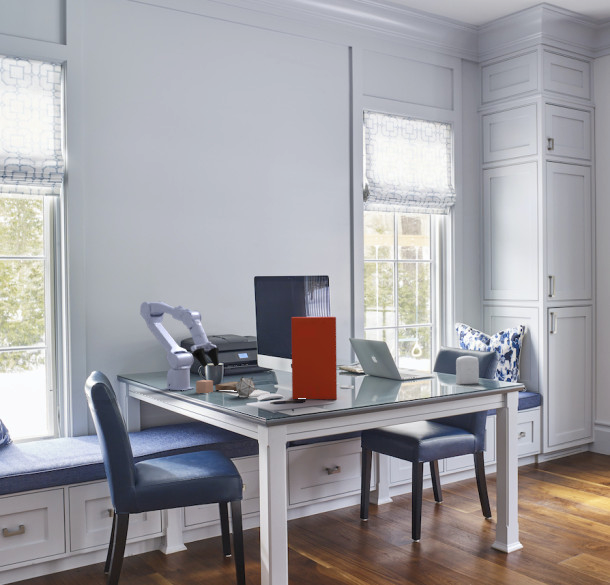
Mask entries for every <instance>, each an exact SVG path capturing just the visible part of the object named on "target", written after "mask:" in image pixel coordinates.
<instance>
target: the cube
mask: <svg viewBox="0 0 610 585" xmlns="http://www.w3.org/2000/svg"><path fill="white" fill-rule="evenodd" d="M195 387H196V388H195V391H196V392H195V393H196V394H200V393H208V394H210V393H209V392H213V393H214V380H209V379H202V380H196V381H195Z"/></svg>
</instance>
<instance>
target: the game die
mask: <svg viewBox="0 0 610 585" xmlns="http://www.w3.org/2000/svg"><path fill="white" fill-rule="evenodd" d="M253 378H254V377H253V376H252V377H251V378H244V377H243V376H242V377H241V378H240V380H239V381H237V382H238V383H237V384H236V385H234V386H235V387H236V389H237V392H238V393H237V394H238V396H239V397H240V396H241V397H247V398H248V397H249V398H250V396H251V394H252V393H253V392H255V391H257V390H258V388H256V386H254V384H253V383H254V382H253ZM249 395H250V396H249Z"/></svg>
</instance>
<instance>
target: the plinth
mask: <svg viewBox="0 0 610 585" xmlns="http://www.w3.org/2000/svg"><path fill="white" fill-rule="evenodd" d="M238 382H239V381H228V382H223V383H219V384H215V387H214V389H215V390H234V391H237V389H236V387H235V386H234V385H236V384H237V383H238ZM253 384H254V386H255V385H256V383H255V382H253ZM255 387H256V386H255Z"/></svg>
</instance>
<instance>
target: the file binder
mask: <svg viewBox="0 0 610 585" xmlns="http://www.w3.org/2000/svg"><path fill="white" fill-rule="evenodd" d="M337 377H338V376H337V317H336V316H292V317H291V393H292V394H291V396H292V399H298V398H306V399H320V400H337V399H338V397H337V396H338V390H337V389H338V388H337V385H338V384H337V382H338V381H337V379H338V378H337Z"/></svg>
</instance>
